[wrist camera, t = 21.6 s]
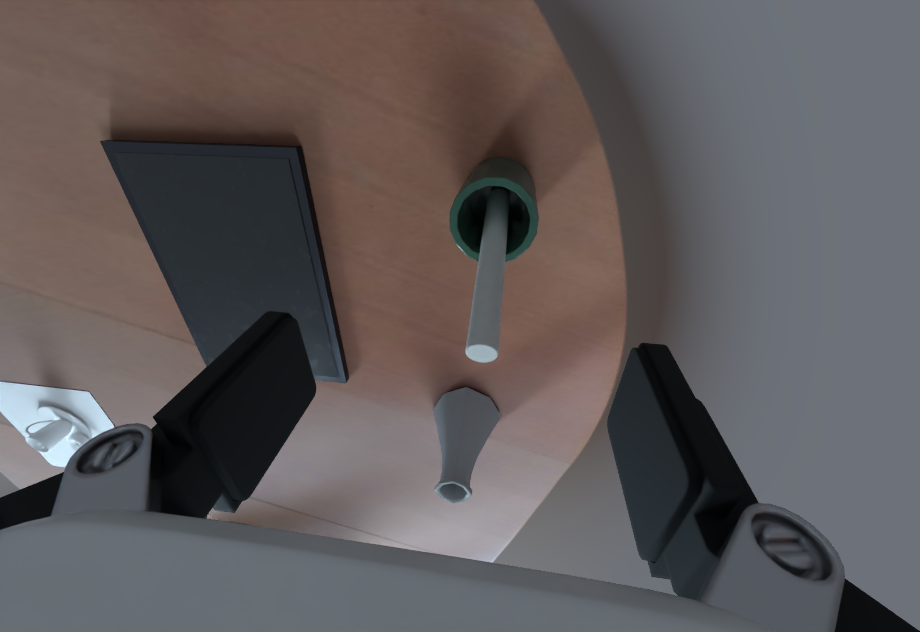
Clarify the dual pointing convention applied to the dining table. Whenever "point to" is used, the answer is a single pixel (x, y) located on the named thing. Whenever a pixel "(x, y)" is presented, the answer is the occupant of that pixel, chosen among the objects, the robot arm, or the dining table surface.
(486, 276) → the stylus
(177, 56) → the dining table surface
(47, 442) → the teacup and saucer
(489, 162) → the pen holder
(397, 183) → the dining table surface
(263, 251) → the tablet
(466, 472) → the flask
